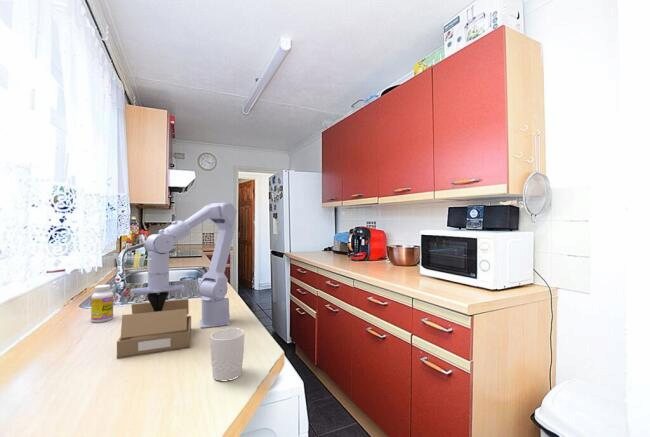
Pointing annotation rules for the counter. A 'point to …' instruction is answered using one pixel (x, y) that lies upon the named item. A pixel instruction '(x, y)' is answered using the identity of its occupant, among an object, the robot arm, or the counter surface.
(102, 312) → the supplement bottle
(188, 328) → the carton
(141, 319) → the near flap
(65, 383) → the counter surface
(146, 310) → the far flap
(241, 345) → the white cup
